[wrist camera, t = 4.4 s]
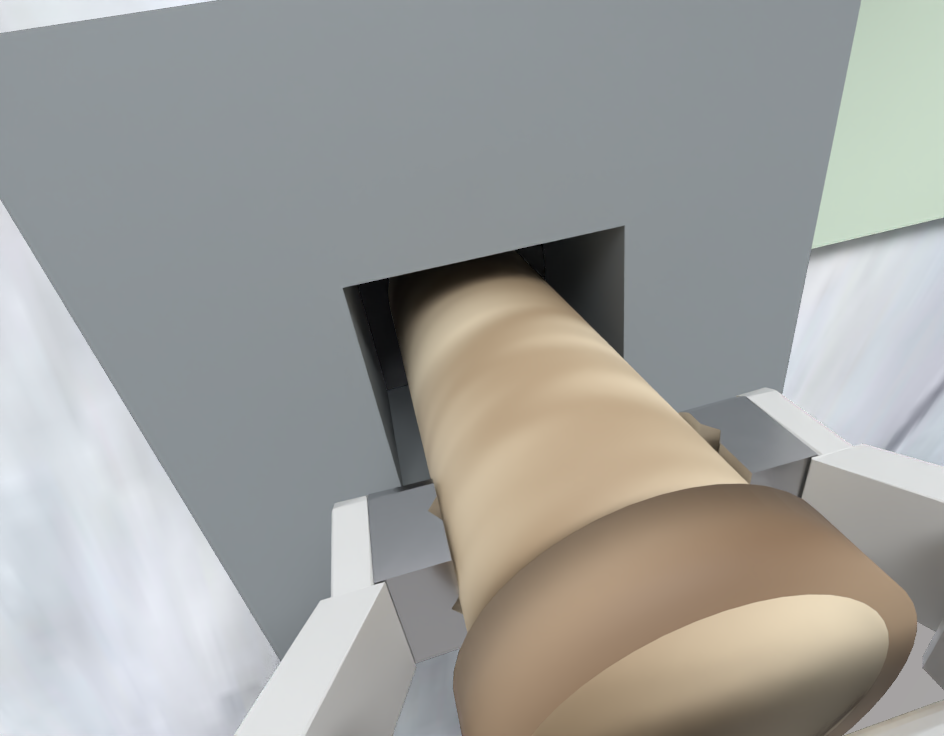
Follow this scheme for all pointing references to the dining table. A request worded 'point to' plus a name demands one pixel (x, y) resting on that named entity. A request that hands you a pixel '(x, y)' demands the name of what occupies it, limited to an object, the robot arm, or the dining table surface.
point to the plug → (621, 539)
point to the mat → (888, 125)
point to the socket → (404, 216)
